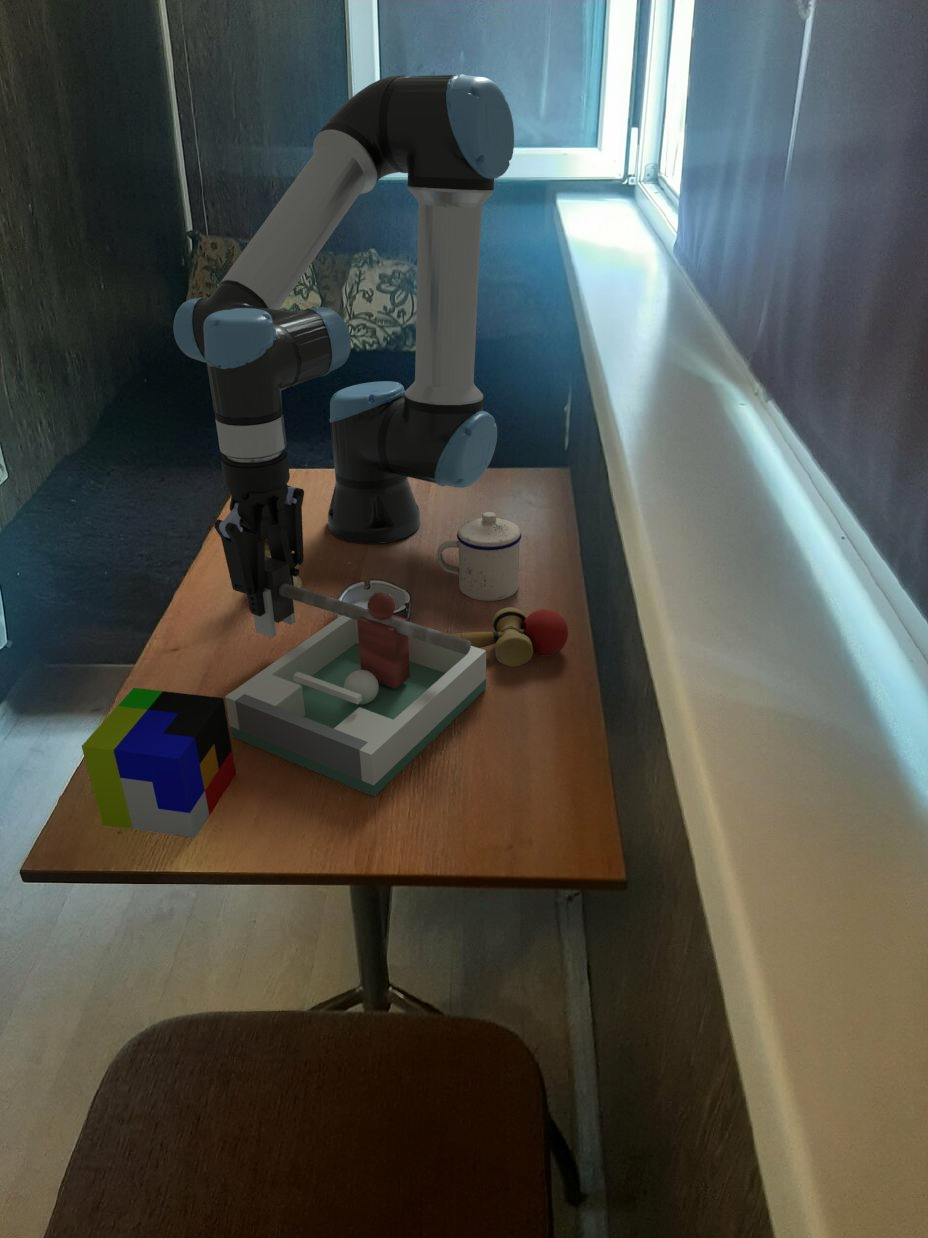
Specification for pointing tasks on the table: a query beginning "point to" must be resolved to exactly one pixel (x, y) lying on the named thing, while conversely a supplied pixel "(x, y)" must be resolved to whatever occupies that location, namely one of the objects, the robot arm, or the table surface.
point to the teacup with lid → (486, 558)
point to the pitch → (352, 707)
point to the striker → (363, 625)
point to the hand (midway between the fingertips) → (276, 626)
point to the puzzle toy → (161, 761)
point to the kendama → (522, 635)
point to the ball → (362, 685)
